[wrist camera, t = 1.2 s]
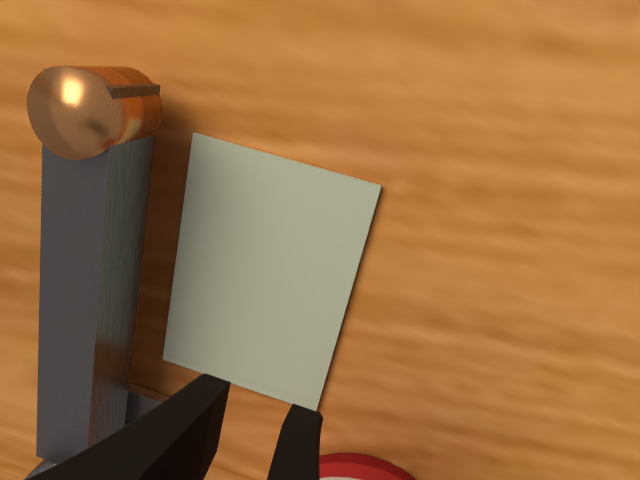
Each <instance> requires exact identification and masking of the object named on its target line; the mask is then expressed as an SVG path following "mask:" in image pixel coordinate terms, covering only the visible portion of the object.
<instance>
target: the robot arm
mask: <svg viewBox="0 0 640 480" xmlns="http://www.w3.org/2000/svg"><path fill="white" fill-rule="evenodd" d="M230 383H231V382H229V381H226V380H223V379H220V378H218V377H215V376H212V375H209V374H206V373H205V374H203V375H200V376H199V377H197V378H196V379H195V380H193V381H192V382H190V383H189V384H188V385H186V386H185V387H183V388H182V389H181V390H179V391H178V392H176V393H175V394H174V395H172V396H171V397H169V398H168V399H166V400H165V401H163V402H162V403H160V404H159V405H157V406H156V407H155V408H153V409H151V410H150V411H148V412H147V413H145V414H144V415H142V416H140V417H139V418H137V419H136V420H134V421H133V422H131V423H130V424H128V425H126V426H125V427H123V428H122V429H120V430H118V431H117V432H115V433H113V434H111V435H110V436H108V437H106V438H104V439H103V440H101V441H99V442H97V443H96V444H94V445H92V446H91V447H89V448H87V449H85V450H84V451H82V452H80V453H78V454H76V455H74V456H72V457H70V458H69V459H67V460H65V461H63V462H61V463H59V464H57V465H55V466H53V467H51V468H49V469H47V470H45V471H43V472H41V473H39V474H36V475H34V476H32V477H30V478H28V479H26V480H203V479H204V477H205V475H206V473H207V471H208V469H209V467H210V465H211V462H212V460H213V458H214V456H215V454H216V452H217V447H218V442H219V437H220V432H221V427H222V422H223V417H224V413H225V408H226V403H227V398H228V393H229V388H230ZM322 421H323V417H322V416H321V414H320V412H317V411H314V410H311V409H308V408H305V407H302V406H299V405H296V404H294V403H293V404H292V406H291V408H290V410H289V412H288V414H287V416H286V418H285V420H284V423H283V425H282V428H281V431H280V435H279V439H278V442H277V446H276V449H275V453H274V456H273V460H272V463H271V467H270V471H269V474H268V478H267V480H320V472H319V447H320V433H321V426H322Z"/></svg>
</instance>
